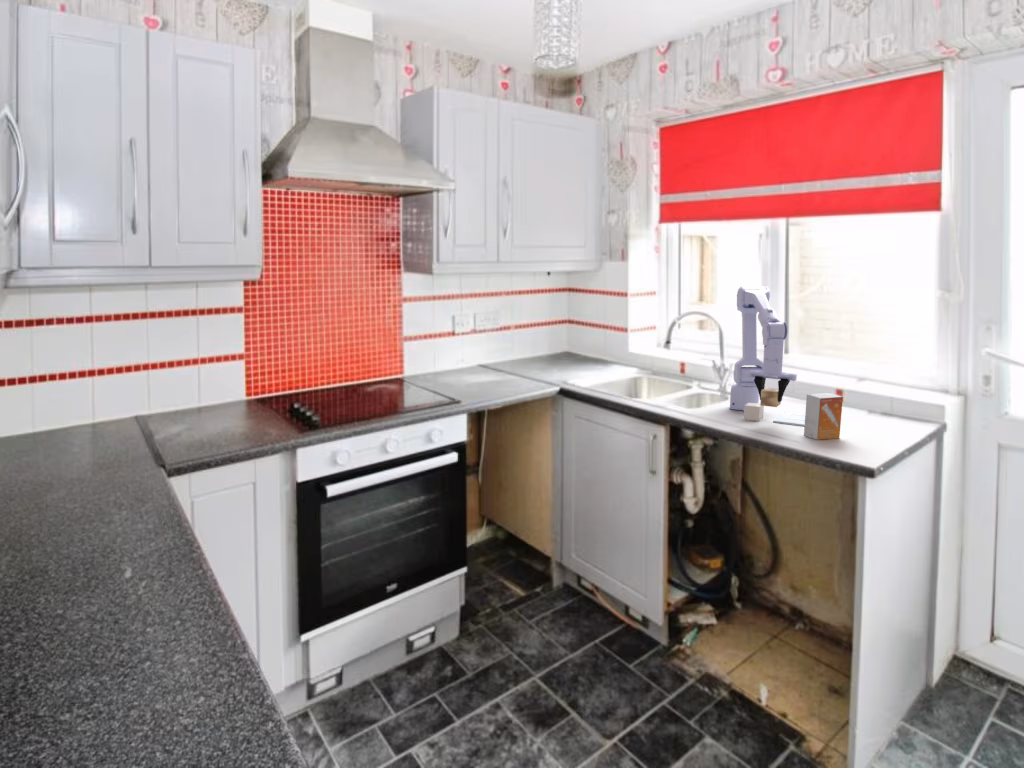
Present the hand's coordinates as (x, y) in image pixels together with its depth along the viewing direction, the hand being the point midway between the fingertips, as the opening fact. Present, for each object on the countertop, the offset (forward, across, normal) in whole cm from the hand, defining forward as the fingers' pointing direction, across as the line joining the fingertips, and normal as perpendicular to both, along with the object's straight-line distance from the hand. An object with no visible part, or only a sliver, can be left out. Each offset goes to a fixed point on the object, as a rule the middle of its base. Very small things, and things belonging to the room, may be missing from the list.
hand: (770, 400), depth 213 cm
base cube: (+2, 0, 0) cm, 2 cm away
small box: (+9, +17, -6) cm, 20 cm away
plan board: (+8, +6, +12) cm, 16 cm away
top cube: (+8, -7, +6) cm, 13 cm away
